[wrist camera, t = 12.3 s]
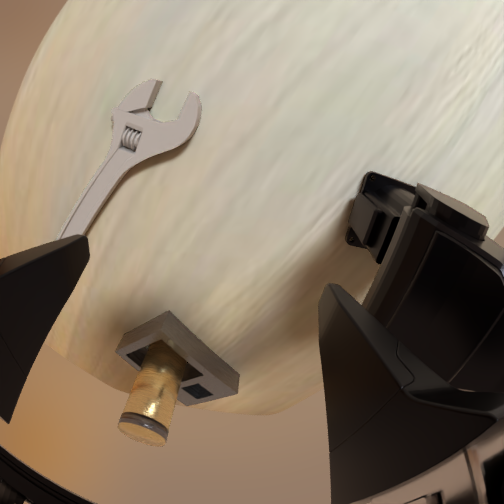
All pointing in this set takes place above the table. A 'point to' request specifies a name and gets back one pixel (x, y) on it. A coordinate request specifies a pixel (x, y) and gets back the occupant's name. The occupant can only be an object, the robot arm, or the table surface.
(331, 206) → the table surface
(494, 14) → the table surface
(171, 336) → the grey rectangular holder
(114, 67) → the table surface
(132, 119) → the adjustable wrench
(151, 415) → the gold tin can
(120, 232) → the table surface
